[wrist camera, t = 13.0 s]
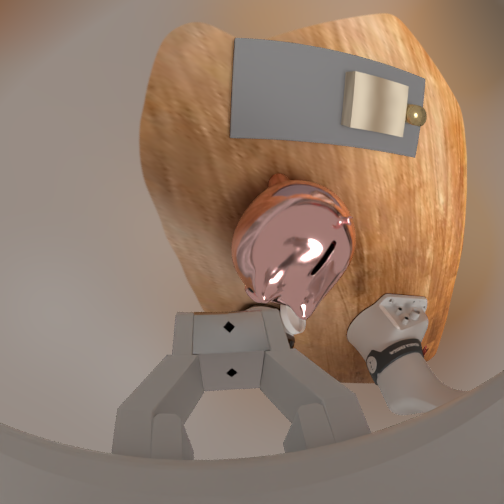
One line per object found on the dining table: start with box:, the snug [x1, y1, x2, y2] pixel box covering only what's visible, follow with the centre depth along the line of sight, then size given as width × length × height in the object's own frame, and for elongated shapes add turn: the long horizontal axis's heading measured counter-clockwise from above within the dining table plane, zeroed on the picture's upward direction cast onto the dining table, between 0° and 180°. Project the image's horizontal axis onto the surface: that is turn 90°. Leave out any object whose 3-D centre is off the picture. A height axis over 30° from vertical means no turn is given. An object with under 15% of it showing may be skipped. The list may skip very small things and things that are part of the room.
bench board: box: [230, 38, 425, 158], centre depth 34 cm, size 30×14×2 cm, turn 87°
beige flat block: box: [341, 71, 409, 137], centre depth 33 cm, size 9×8×3 cm
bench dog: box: [405, 104, 426, 126], centre depth 33 cm, size 3×3×4 cm
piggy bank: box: [231, 173, 356, 320], centre depth 37 cm, size 15×18×16 cm
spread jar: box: [245, 304, 306, 349], centre depth 49 cm, size 12×11×12 cm
